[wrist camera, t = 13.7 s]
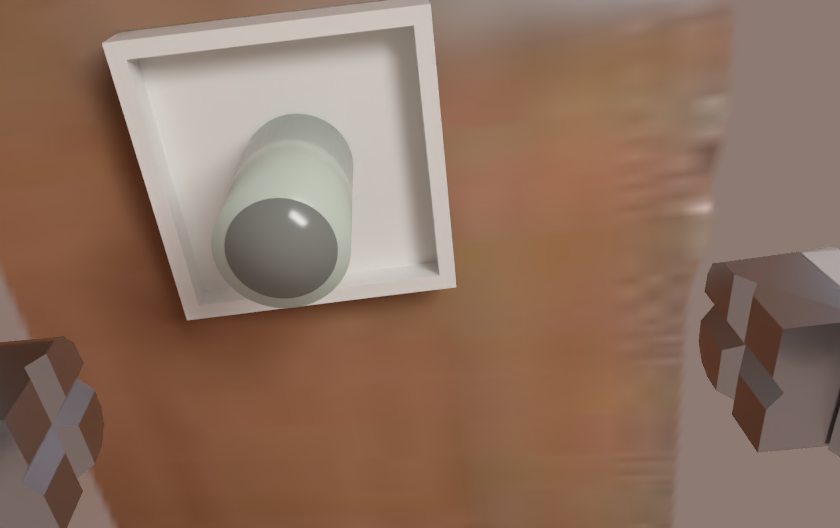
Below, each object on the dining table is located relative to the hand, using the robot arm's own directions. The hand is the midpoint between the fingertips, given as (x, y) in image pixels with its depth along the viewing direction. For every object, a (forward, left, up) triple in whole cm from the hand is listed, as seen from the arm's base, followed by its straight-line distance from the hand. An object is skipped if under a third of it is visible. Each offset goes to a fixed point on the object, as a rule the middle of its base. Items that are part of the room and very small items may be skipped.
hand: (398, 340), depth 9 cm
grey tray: (+7, -5, -27) cm, 28 cm away
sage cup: (+7, -4, -26) cm, 27 cm away
